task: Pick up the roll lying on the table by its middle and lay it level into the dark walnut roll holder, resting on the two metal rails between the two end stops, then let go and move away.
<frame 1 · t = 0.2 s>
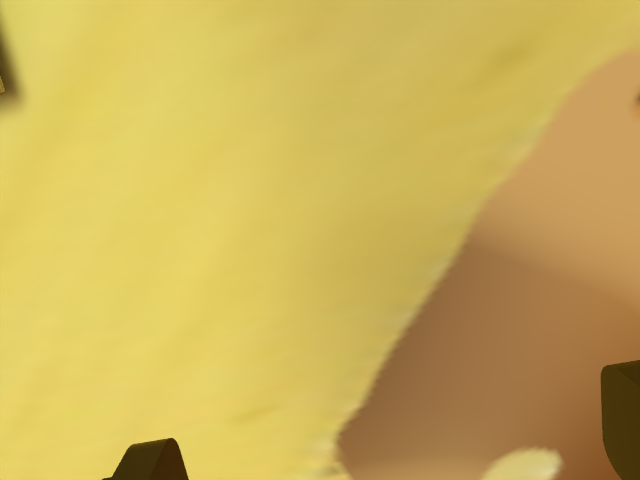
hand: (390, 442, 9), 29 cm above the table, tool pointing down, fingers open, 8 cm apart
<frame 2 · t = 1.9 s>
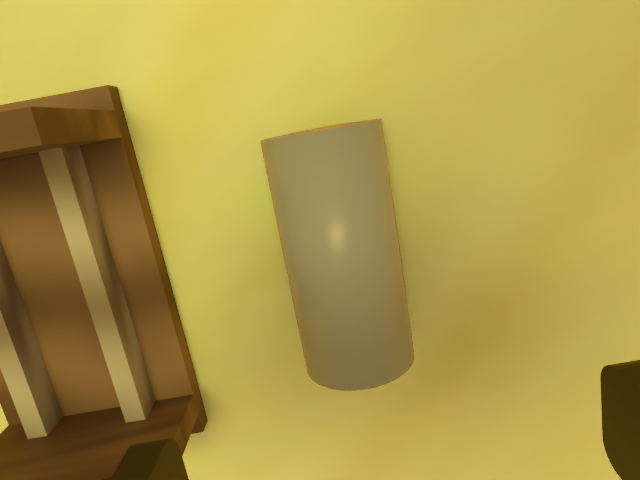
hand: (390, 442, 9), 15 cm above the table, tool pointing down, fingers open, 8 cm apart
holder: (71, 285, 24), on the table
roll: (339, 237, 24), on the table
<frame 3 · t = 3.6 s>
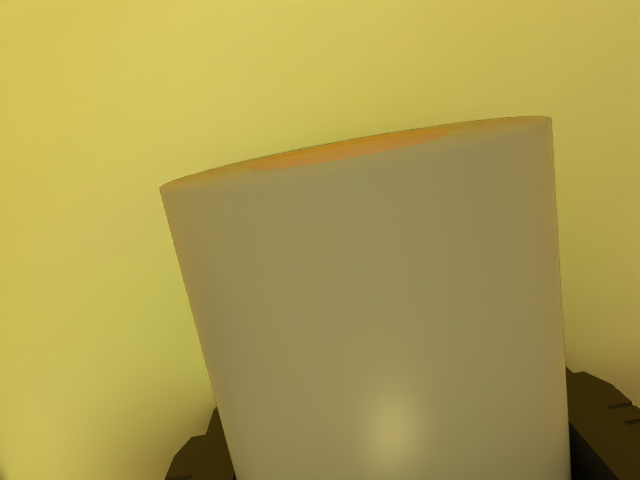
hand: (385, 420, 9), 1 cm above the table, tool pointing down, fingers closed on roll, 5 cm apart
roll: (380, 388, 10), on the table, touching gripper
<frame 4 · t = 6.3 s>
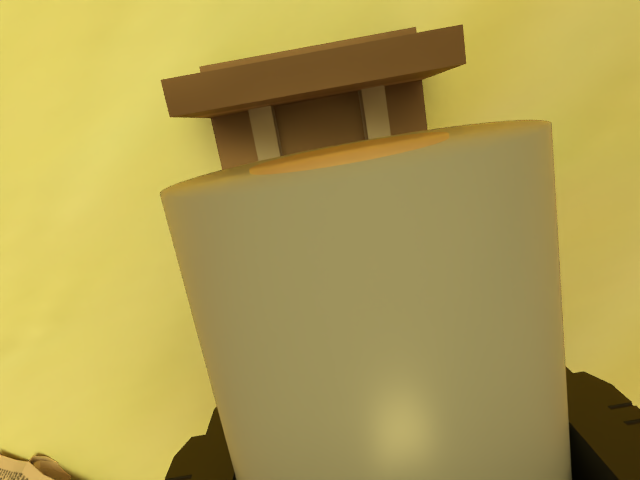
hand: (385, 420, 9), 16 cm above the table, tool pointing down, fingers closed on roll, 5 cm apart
holder: (337, 231, 24), on the table
roll: (381, 390, 10), point 15 cm above the table, touching gripper
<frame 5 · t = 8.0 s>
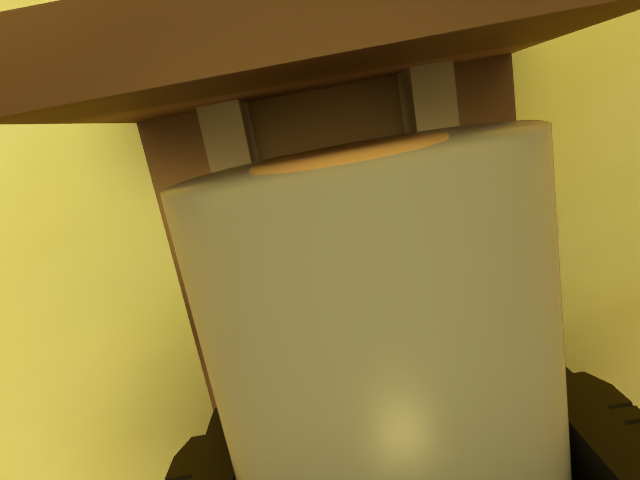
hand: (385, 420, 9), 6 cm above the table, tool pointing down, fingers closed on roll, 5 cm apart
holder: (357, 307, 15), on the table
roll: (381, 390, 10), point 5 cm above the table, touching gripper
when the fingers open (4 cm above the table, at t = 9.2 s): roll drops 1 cm, resting on holder.
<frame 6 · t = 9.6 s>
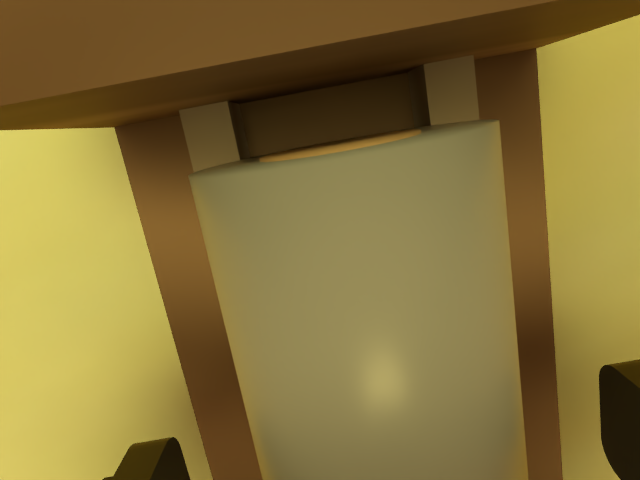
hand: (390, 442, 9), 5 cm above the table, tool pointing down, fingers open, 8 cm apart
holder: (362, 330, 14), on the table
roll: (375, 356, 12), point 2 cm above the table, touching holder
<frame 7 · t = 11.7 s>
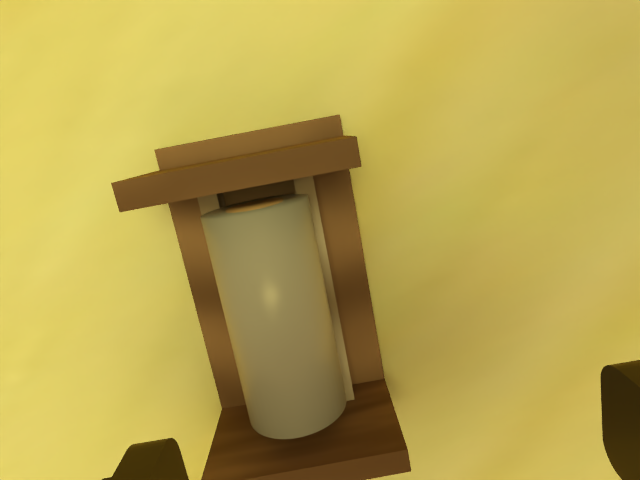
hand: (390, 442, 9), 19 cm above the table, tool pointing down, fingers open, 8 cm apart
holder: (281, 285, 28), on the table
roll: (282, 293, 26), point 2 cm above the table, touching holder
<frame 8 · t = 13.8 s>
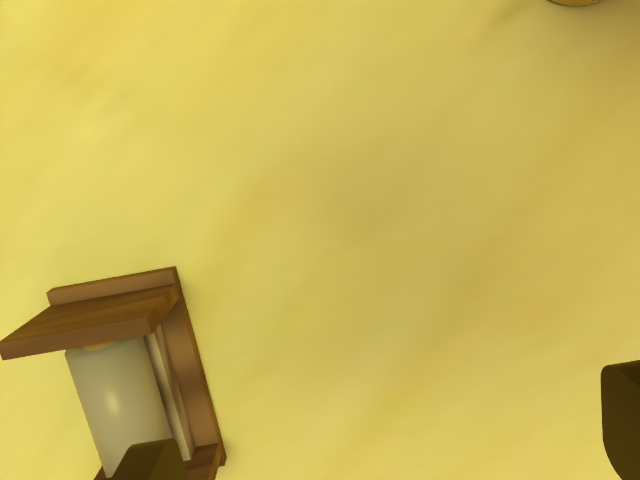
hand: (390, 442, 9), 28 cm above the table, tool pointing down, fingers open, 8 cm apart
holder: (144, 377, 39), on the table
roll: (138, 387, 38), point 2 cm above the table, touching holder
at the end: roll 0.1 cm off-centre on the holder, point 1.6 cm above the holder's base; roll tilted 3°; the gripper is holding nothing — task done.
